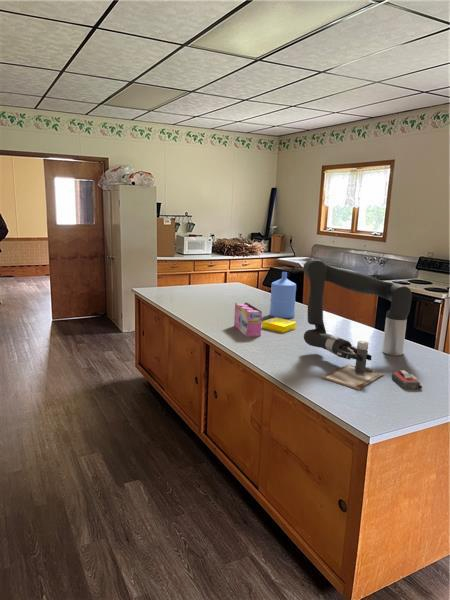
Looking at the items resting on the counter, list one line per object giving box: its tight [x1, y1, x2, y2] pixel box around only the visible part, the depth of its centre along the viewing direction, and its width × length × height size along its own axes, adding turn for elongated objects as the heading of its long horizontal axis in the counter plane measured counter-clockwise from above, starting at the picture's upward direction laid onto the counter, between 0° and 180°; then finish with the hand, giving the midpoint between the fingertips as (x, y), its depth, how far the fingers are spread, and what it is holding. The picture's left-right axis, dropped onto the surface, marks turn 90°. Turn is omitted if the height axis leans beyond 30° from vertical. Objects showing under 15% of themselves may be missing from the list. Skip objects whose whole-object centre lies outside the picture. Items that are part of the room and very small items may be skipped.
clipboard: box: [320, 363, 385, 391], centre depth 177 cm, size 22×16×2 cm
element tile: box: [261, 317, 297, 334], centre depth 248 cm, size 15×15×5 cm
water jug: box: [269, 271, 297, 319], centre depth 275 cm, size 16×16×28 cm
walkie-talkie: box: [391, 368, 423, 390], centre depth 175 cm, size 9×4×20 cm
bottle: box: [354, 340, 369, 376], centre depth 178 cm, size 4×4×14 cm
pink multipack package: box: [233, 302, 263, 338], centre depth 240 cm, size 24×8×14 cm, turn 17°
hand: (366, 358), depth 175 cm, fingers closed on bottle, 4 cm apart
